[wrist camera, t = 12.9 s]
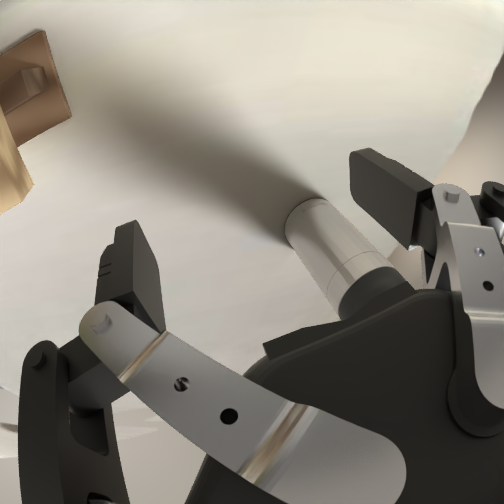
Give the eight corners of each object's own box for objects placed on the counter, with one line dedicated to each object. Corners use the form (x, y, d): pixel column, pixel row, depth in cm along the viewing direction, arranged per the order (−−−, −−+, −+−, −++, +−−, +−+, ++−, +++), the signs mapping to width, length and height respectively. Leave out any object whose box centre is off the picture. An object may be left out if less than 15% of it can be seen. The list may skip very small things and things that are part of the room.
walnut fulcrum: (72, 116, 29) (52, 132, 23) (-2, 158, 27) (-29, 183, 21) (45, 31, 21) (19, 26, 15) (-31, 81, 20) (-64, 92, 14)
